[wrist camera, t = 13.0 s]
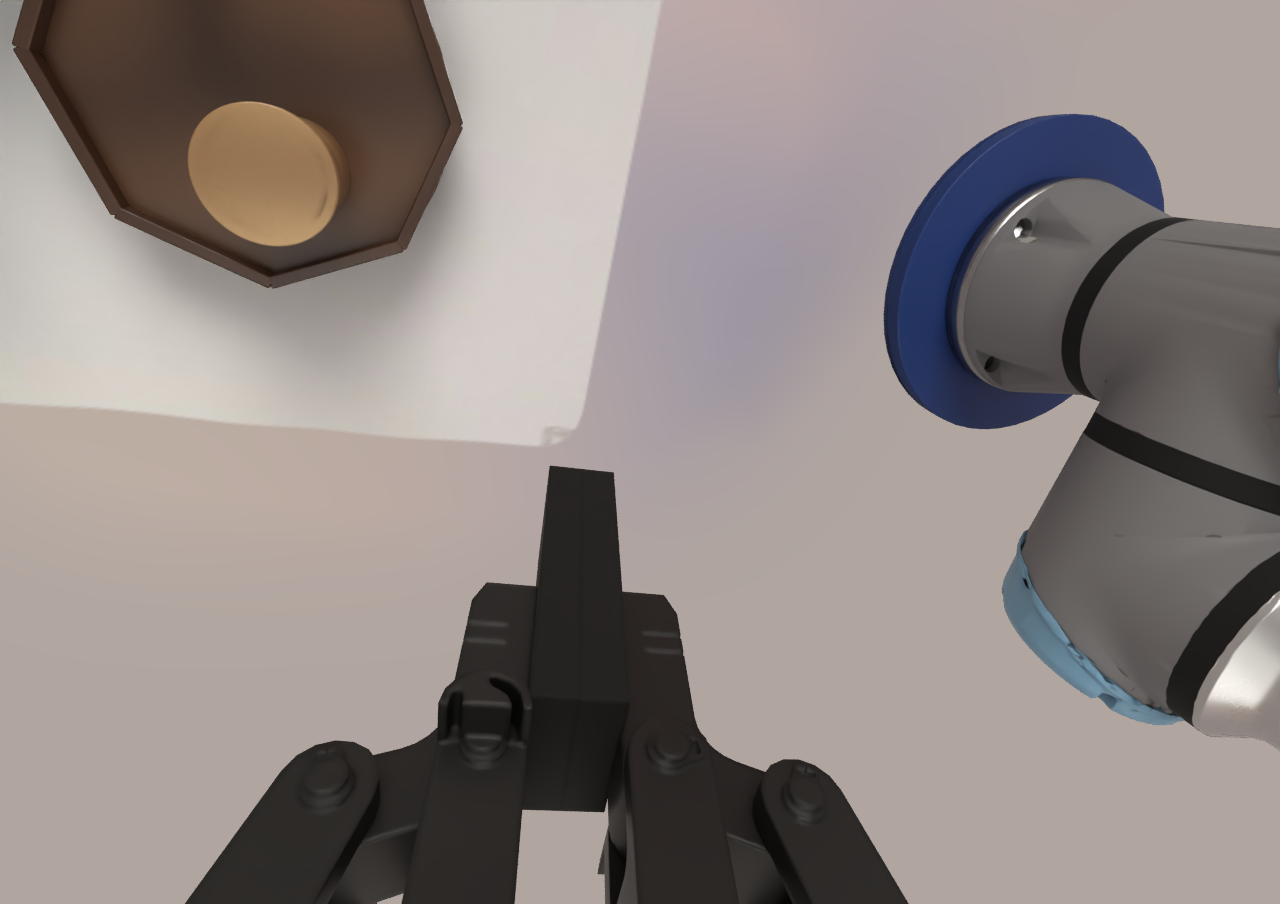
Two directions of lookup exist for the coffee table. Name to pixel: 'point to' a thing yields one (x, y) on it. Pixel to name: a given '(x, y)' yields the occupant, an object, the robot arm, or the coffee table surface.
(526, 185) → the coffee table surface
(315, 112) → the tray
